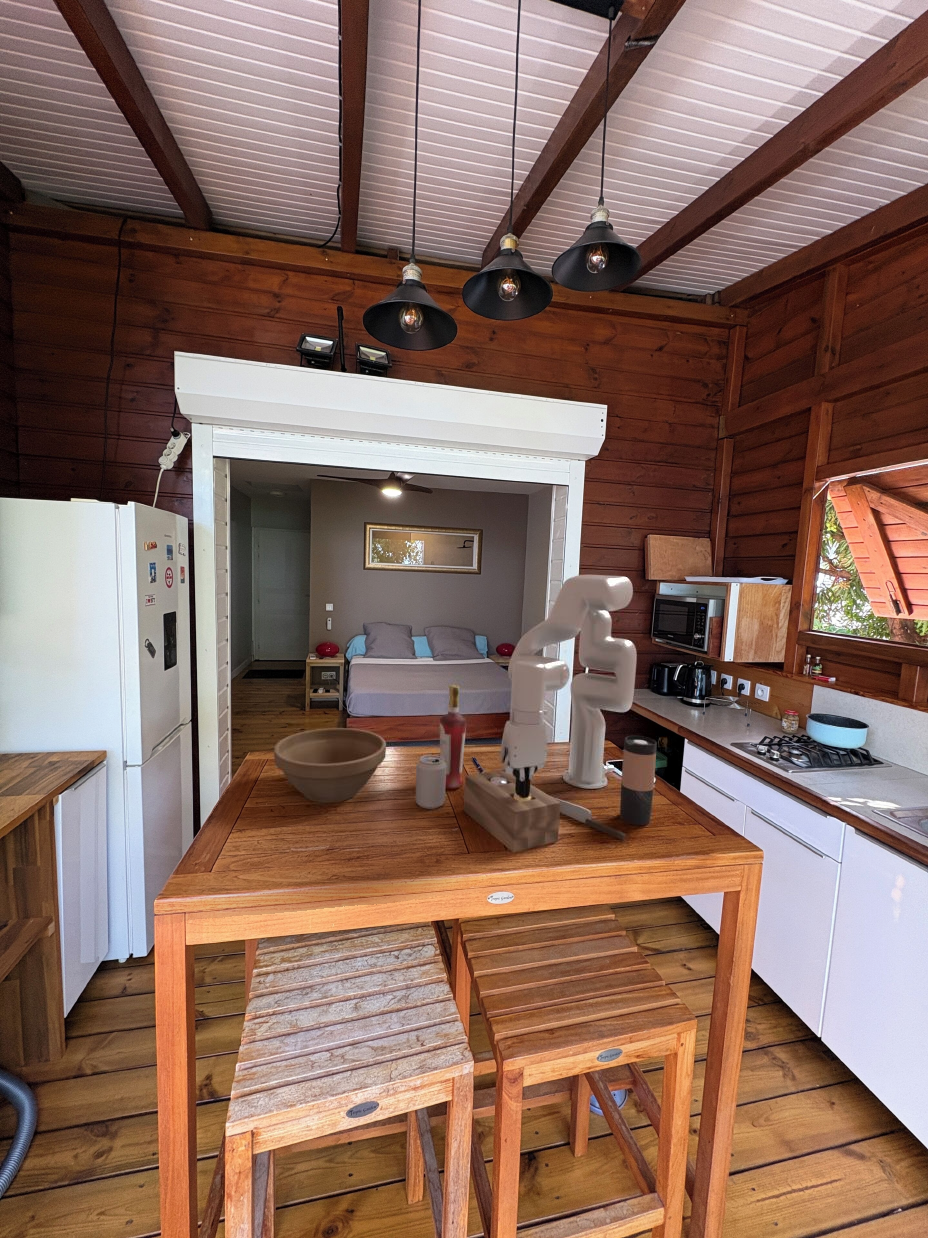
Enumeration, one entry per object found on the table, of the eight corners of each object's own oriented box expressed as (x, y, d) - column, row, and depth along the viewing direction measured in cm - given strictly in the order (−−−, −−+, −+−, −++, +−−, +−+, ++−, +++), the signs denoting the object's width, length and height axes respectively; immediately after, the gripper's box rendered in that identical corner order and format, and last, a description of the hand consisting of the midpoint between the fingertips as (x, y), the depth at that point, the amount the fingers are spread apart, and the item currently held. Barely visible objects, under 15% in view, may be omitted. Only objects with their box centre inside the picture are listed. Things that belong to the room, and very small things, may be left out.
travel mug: (651, 815, 136) (656, 738, 134) (651, 828, 129) (657, 747, 127) (619, 809, 139) (625, 733, 137) (618, 822, 131) (623, 742, 130)
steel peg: (499, 809, 134) (501, 776, 134) (508, 815, 131) (510, 782, 130) (486, 812, 133) (487, 778, 132) (494, 818, 129) (496, 784, 128)
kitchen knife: (626, 825, 123) (526, 781, 145) (624, 827, 122) (523, 782, 144) (625, 843, 123) (525, 796, 145) (622, 844, 123) (522, 797, 144)
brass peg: (522, 825, 126) (524, 790, 125) (533, 833, 122) (535, 797, 121) (508, 829, 124) (510, 793, 123) (518, 836, 120) (520, 800, 120)
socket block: (504, 802, 140) (505, 769, 139) (557, 841, 121) (560, 802, 120) (463, 810, 134) (465, 775, 133) (513, 853, 115) (515, 812, 114)
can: (440, 812, 133) (442, 765, 132) (411, 808, 134) (413, 761, 133) (447, 799, 140) (449, 755, 139) (420, 796, 142) (421, 751, 141)
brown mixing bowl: (320, 828, 122) (321, 772, 121) (250, 793, 139) (251, 743, 138) (406, 791, 145) (408, 743, 144) (337, 764, 162) (338, 721, 161)
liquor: (433, 782, 151) (437, 684, 149) (457, 779, 154) (462, 683, 151) (442, 792, 144) (446, 690, 142) (467, 789, 147) (472, 689, 145)
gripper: (543, 709, 127) (538, 784, 129) (489, 714, 120) (485, 794, 122) (563, 717, 121) (558, 796, 122) (508, 723, 114) (503, 807, 115)
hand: (522, 795), depth 122 cm, fingers closed
